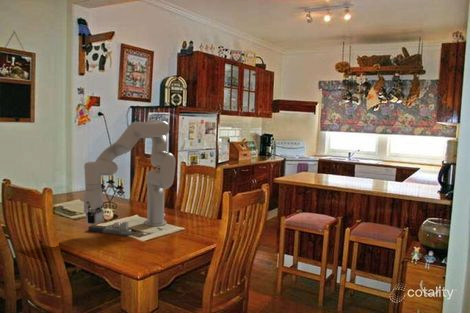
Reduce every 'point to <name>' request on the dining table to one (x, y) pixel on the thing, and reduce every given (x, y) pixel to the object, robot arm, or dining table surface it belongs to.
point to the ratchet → (112, 229)
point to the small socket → (117, 225)
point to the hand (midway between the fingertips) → (94, 220)
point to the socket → (96, 217)
